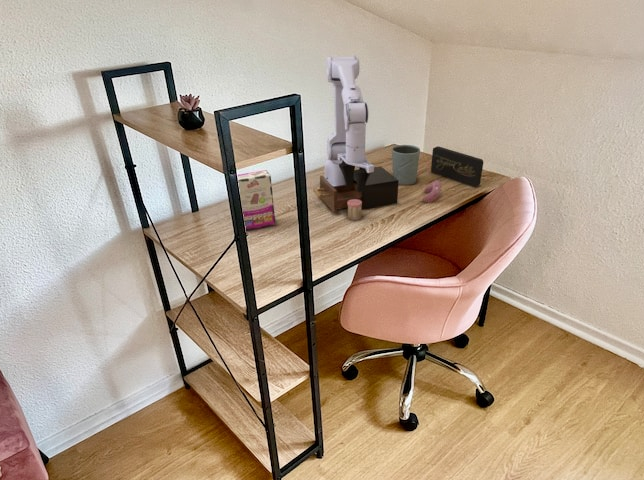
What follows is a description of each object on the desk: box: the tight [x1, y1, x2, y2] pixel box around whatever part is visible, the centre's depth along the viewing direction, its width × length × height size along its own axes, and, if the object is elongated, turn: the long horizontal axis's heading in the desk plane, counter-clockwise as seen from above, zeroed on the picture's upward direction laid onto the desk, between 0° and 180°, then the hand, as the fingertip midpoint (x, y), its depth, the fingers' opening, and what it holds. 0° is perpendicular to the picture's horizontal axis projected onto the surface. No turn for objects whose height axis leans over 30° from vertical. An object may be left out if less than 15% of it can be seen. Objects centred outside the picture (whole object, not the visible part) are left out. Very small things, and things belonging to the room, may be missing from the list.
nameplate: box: [430, 145, 484, 188], centre depth 181 cm, size 21×2×10 cm, turn 43°
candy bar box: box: [237, 169, 276, 231], centre depth 148 cm, size 11×5×16 cm, turn 114°
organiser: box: [353, 165, 399, 211], centre depth 167 cm, size 13×14×8 cm
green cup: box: [391, 144, 421, 186], centre depth 179 cm, size 10×10×12 cm
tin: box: [347, 199, 362, 221], centre depth 155 cm, size 5×5×5 cm
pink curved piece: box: [422, 179, 443, 203], centre depth 168 cm, size 10×5×7 cm, turn 168°
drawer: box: [312, 175, 362, 215], centre depth 163 cm, size 16×14×8 cm
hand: (354, 188), depth 152 cm, fingers open, 5 cm apart
